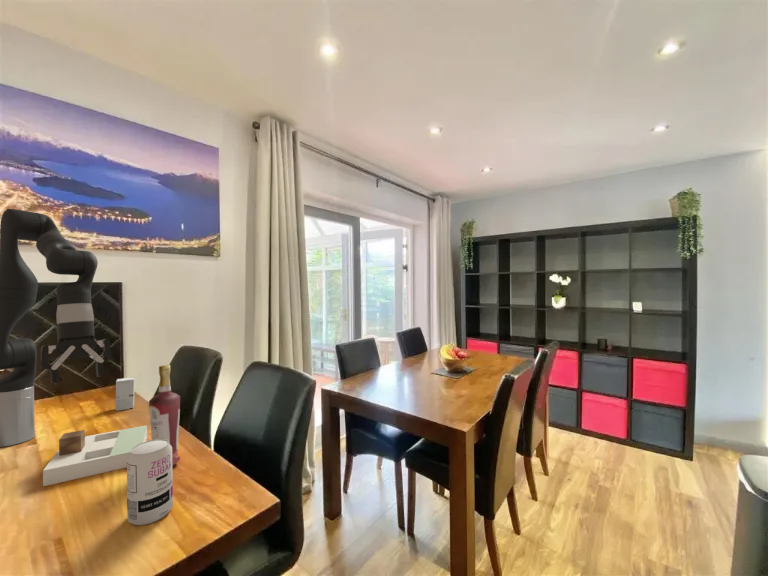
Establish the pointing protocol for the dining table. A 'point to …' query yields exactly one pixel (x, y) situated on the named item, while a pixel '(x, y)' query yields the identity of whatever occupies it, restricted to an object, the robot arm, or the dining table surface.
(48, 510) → the dining table surface
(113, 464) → the trap plank
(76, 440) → the walnut block
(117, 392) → the skincare box
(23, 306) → the robot arm
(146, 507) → the supplement can
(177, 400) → the liquor
